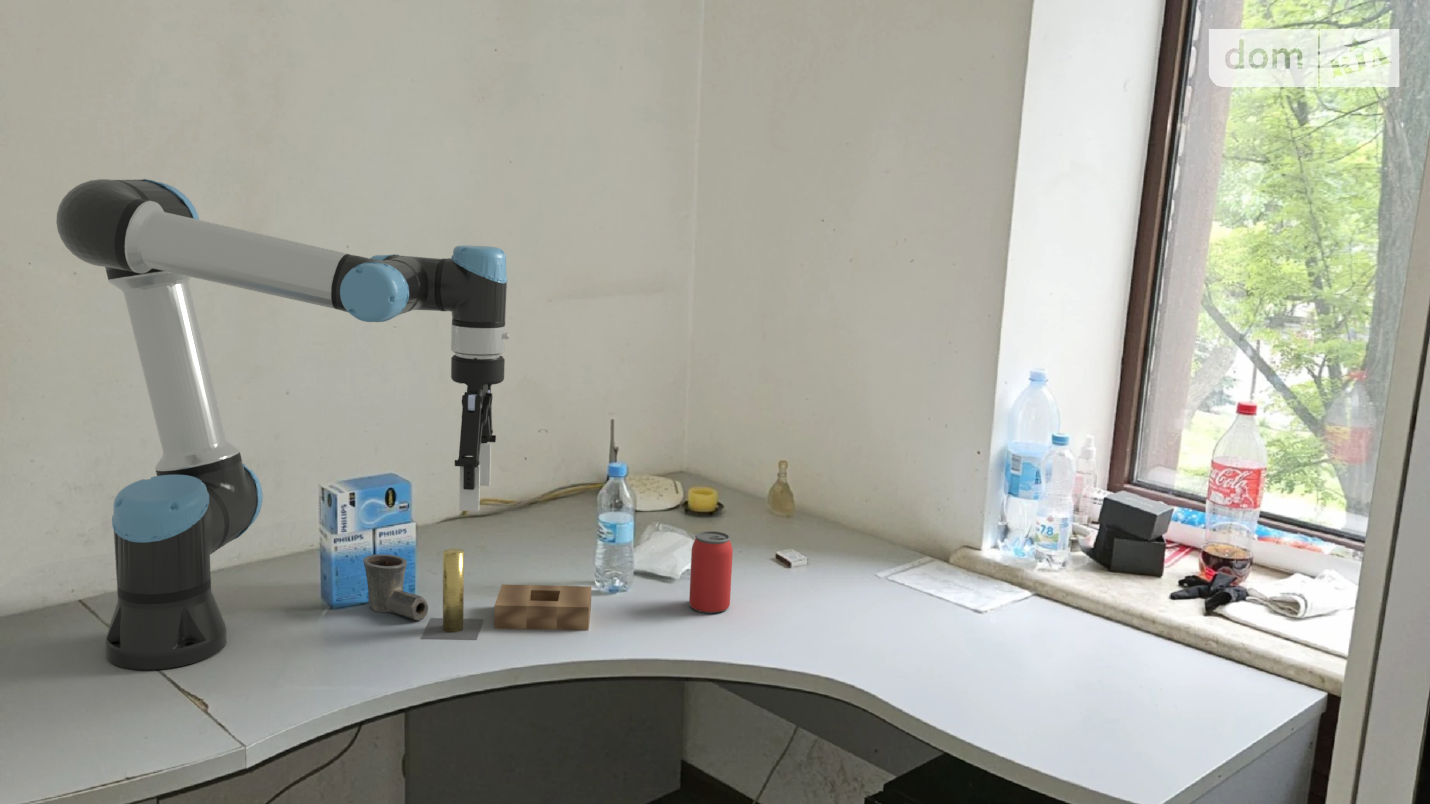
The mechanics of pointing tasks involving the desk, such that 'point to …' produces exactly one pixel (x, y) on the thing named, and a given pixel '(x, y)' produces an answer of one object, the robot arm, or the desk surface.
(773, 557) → the desk surface
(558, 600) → the socket block
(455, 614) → the pin
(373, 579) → the pipe
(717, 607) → the beer can
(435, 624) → the mat
